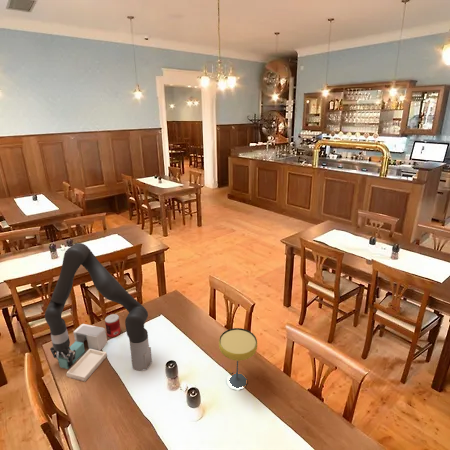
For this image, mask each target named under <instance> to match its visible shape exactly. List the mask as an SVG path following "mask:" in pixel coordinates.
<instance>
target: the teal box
mask: <svg viewBox="0 0 450 450" xmlns="http://www.w3.org/2000/svg"><path fill="white" fill-rule="evenodd" d="M69 347H70V349H71V350H72V351H73V350H75V351H76V354H75V359H74V360H73V361H72V362H73V365H74V364H75V363H76V362H77V361H78V360H79V359H80V358H81V357H82V356H83V355H84V354H85V353H86V349H85V344H84V342H83V343H81V342H77V341H75V340H74V342H73V343H72V344H71V345H69ZM67 355H68V354H67ZM67 355H66V356H67ZM68 358H70V357H68ZM58 361H59V362H58ZM57 362H58V365H59V368H61V369H65V370H70V369H71V367H68V363H67V359H65V358H64V356H62V355H61V356H60V357H58V359H57Z"/></svg>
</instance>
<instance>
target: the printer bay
mask: <svg viewBox="0 0 450 450" xmlns="http://www.w3.org/2000/svg"><path fill="white" fill-rule="evenodd" d="M72 332H73V337H74V342H75V341H77V342H81V343H84V342H85V341H87V347H88V350H89V349H94V350H98V351H102V349H103V348H104V347H105V346H106V345H107V344H108V340H107V337H108V336H107V331H106V327H105V328H104V327H102V326H95V325H91V324H85V323H82V324H80V325H79V326H78V327H77V328H76V329H75V330H73V331H72Z"/></svg>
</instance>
